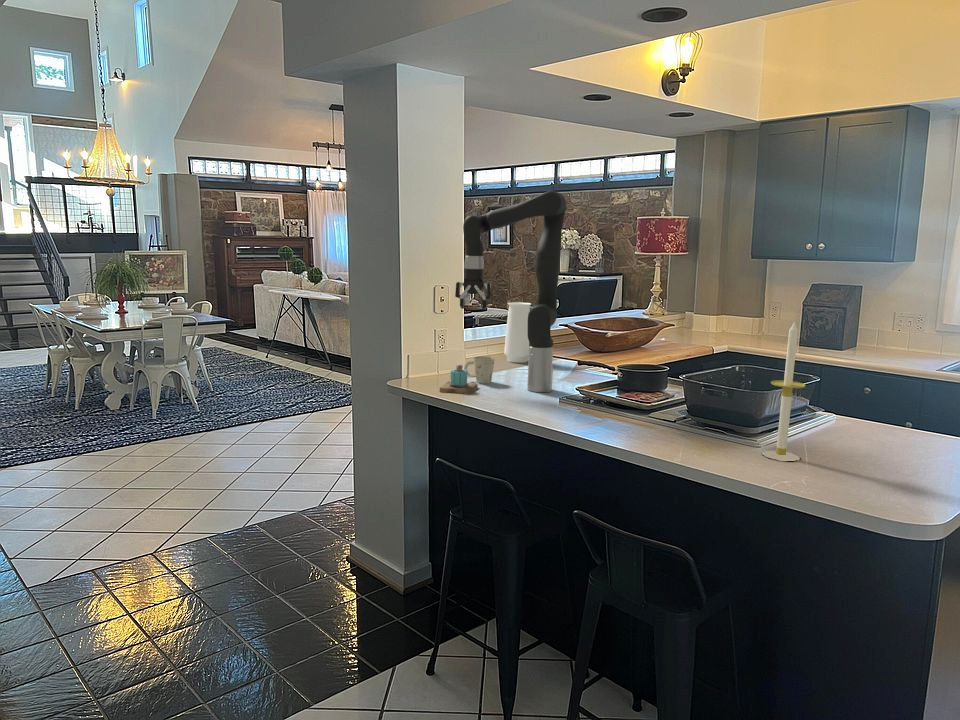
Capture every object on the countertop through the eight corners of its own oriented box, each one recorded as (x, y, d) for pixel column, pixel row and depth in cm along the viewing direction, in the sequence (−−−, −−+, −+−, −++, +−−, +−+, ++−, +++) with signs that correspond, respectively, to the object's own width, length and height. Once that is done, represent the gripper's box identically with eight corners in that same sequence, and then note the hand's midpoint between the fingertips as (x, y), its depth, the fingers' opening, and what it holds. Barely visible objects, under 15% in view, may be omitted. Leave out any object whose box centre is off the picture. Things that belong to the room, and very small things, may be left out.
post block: (477, 387, 264) (478, 363, 262) (470, 393, 252) (470, 369, 250) (447, 385, 266) (448, 361, 265) (439, 391, 255) (439, 367, 253)
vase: (518, 357, 335) (520, 301, 330) (536, 361, 325) (538, 303, 321) (498, 360, 327) (500, 302, 322) (516, 364, 317) (518, 304, 312)
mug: (491, 384, 269) (492, 360, 268) (461, 382, 272) (461, 358, 270) (495, 380, 277) (496, 356, 276) (465, 378, 280) (466, 355, 278)
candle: (771, 448, 191) (784, 317, 185) (807, 457, 184) (821, 320, 177) (754, 455, 184) (767, 319, 178) (790, 464, 177) (805, 323, 171)
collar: (468, 382, 261) (468, 370, 260) (464, 385, 255) (464, 372, 254) (453, 381, 262) (453, 369, 261) (449, 384, 256) (449, 371, 256)
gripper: (493, 267, 265) (492, 308, 268) (458, 266, 268) (458, 307, 271) (489, 268, 258) (488, 310, 261) (454, 267, 261) (453, 309, 264)
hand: (473, 308), depth 266 cm, fingers open, 8 cm apart
